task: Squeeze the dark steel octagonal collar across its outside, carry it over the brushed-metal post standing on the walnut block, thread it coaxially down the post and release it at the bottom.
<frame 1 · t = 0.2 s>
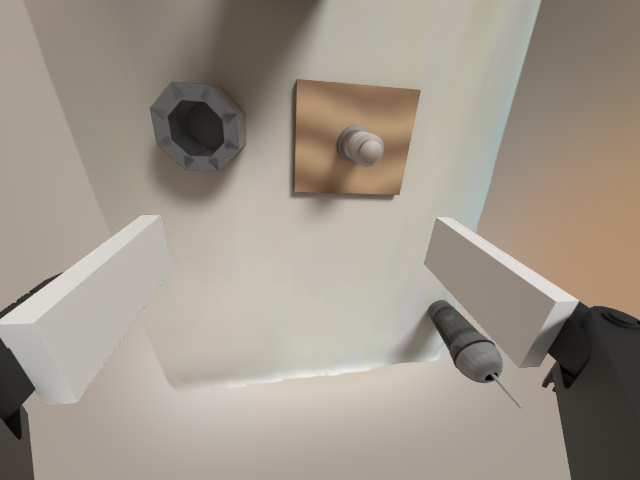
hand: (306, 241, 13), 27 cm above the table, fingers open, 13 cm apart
ring: (210, 126, 34), on the table
beverage cup: (438, 308, 54), on the table
post block: (352, 142, 37), on the table
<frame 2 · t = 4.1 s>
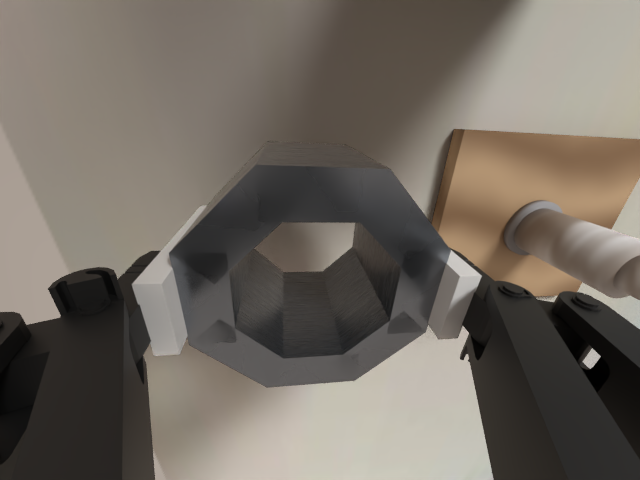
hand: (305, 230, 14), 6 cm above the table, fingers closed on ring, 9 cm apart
ring: (304, 228, 14), point 5 cm above the table, touching gripper
post block: (518, 222, 23), on the table
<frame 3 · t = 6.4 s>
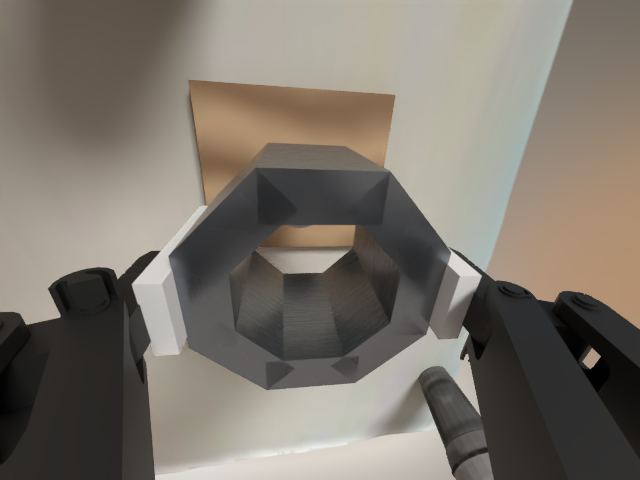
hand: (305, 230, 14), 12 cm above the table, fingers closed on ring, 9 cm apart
ring: (304, 229, 14), point 12 cm above the table, touching gripper
beverage cup: (432, 374, 42), on the table
post block: (295, 174, 25), on the table
when the fingers open (2 cm above the table, at t = 8.7 s): ring stays where it is, resting on post block.
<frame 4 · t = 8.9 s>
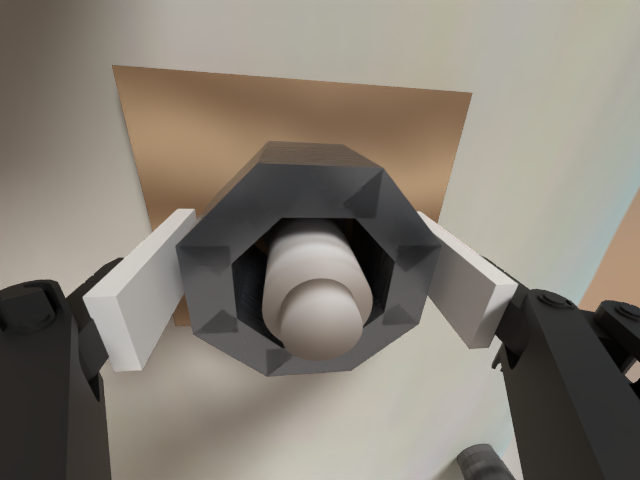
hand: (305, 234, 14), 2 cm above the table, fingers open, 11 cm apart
ring: (303, 225, 15), point 1 cm above the table, touching post block
beverage cup: (473, 452, 32), on the table
post block: (302, 217, 16), on the table
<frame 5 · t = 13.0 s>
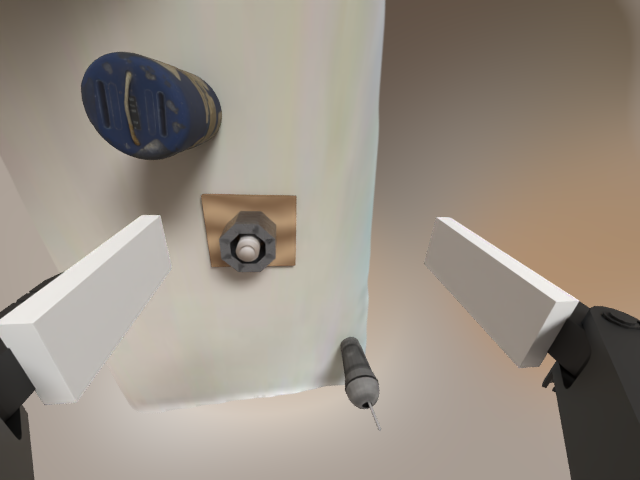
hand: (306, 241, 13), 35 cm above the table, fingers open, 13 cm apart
ring: (252, 233, 48), point 1 cm above the table, touching post block
canister: (191, 109, 40), on the table
beverage cup: (349, 343, 66), on the table
post block: (252, 230, 49), on the table
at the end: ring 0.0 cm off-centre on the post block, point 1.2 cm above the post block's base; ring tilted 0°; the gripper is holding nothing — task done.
